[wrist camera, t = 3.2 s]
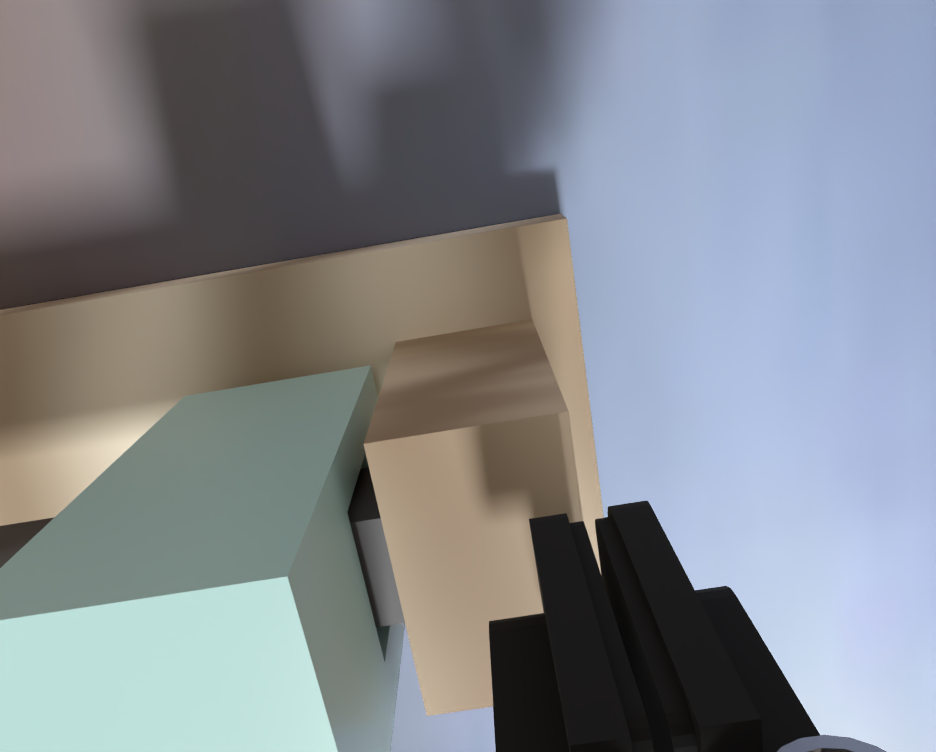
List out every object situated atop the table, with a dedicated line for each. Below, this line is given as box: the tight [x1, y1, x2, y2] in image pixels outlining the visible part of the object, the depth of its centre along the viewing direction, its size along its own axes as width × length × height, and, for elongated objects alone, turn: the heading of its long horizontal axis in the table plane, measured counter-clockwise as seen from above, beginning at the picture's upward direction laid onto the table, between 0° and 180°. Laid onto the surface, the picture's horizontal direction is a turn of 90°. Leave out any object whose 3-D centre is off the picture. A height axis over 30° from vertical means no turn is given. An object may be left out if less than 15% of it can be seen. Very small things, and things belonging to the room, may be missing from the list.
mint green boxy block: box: [0, 365, 405, 752], centre depth 12 cm, size 4×5×8 cm
